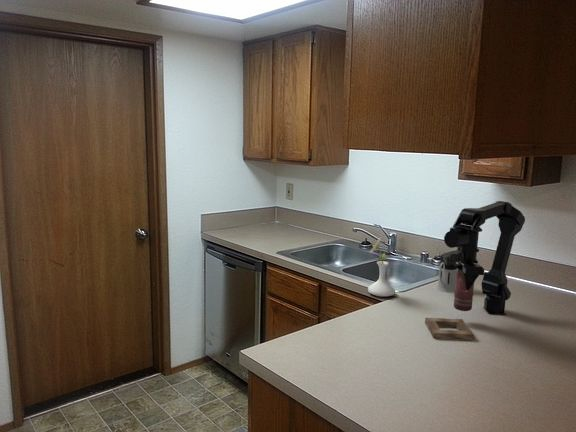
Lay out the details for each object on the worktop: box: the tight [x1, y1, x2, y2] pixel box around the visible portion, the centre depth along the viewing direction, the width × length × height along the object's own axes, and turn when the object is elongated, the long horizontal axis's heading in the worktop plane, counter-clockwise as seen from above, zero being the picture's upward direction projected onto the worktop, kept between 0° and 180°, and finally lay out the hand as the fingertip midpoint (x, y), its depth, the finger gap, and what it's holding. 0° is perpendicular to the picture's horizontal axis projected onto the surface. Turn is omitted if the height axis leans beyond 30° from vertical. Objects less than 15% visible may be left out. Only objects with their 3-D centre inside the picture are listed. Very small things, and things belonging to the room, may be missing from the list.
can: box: [453, 269, 475, 312], centre depth 166 cm, size 6×6×14 cm
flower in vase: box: [367, 237, 396, 297], centre depth 193 cm, size 13×11×25 cm
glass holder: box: [436, 254, 458, 293], centre depth 201 cm, size 9×14×15 cm, turn 140°
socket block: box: [424, 317, 475, 341], centre depth 159 cm, size 13×13×2 cm
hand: (464, 287), depth 165 cm, fingers closed on can, 5 cm apart
